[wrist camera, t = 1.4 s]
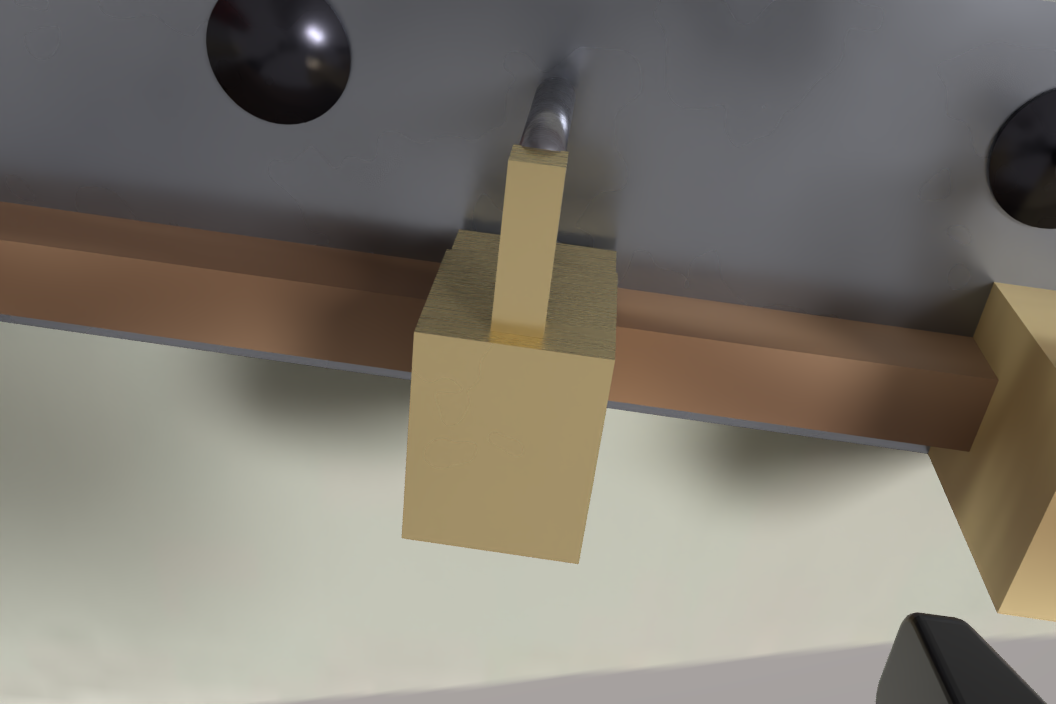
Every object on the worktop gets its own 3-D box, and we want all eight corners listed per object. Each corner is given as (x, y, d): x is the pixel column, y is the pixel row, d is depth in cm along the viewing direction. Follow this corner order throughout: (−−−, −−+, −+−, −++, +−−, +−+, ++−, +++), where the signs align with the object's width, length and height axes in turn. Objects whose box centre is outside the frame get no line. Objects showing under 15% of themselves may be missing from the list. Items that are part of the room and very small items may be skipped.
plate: (1116, 450, 22) (1142, 486, 21) (-52, 284, 22) (-88, 311, 21) (1328, 27, 17) (1376, 45, 16) (-144, -166, 18) (-197, -162, 17)
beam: (1116, 480, 21) (1230, 647, 17) (-63, 312, 21) (-222, 435, 17) (1277, 166, 17) (1468, 282, 13) (-134, -24, 18) (-354, 32, 14)
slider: (589, 413, 21) (578, 564, 17) (445, 392, 21) (401, 538, 17) (645, 85, 17) (648, 177, 13) (472, 61, 17) (424, 147, 13)
